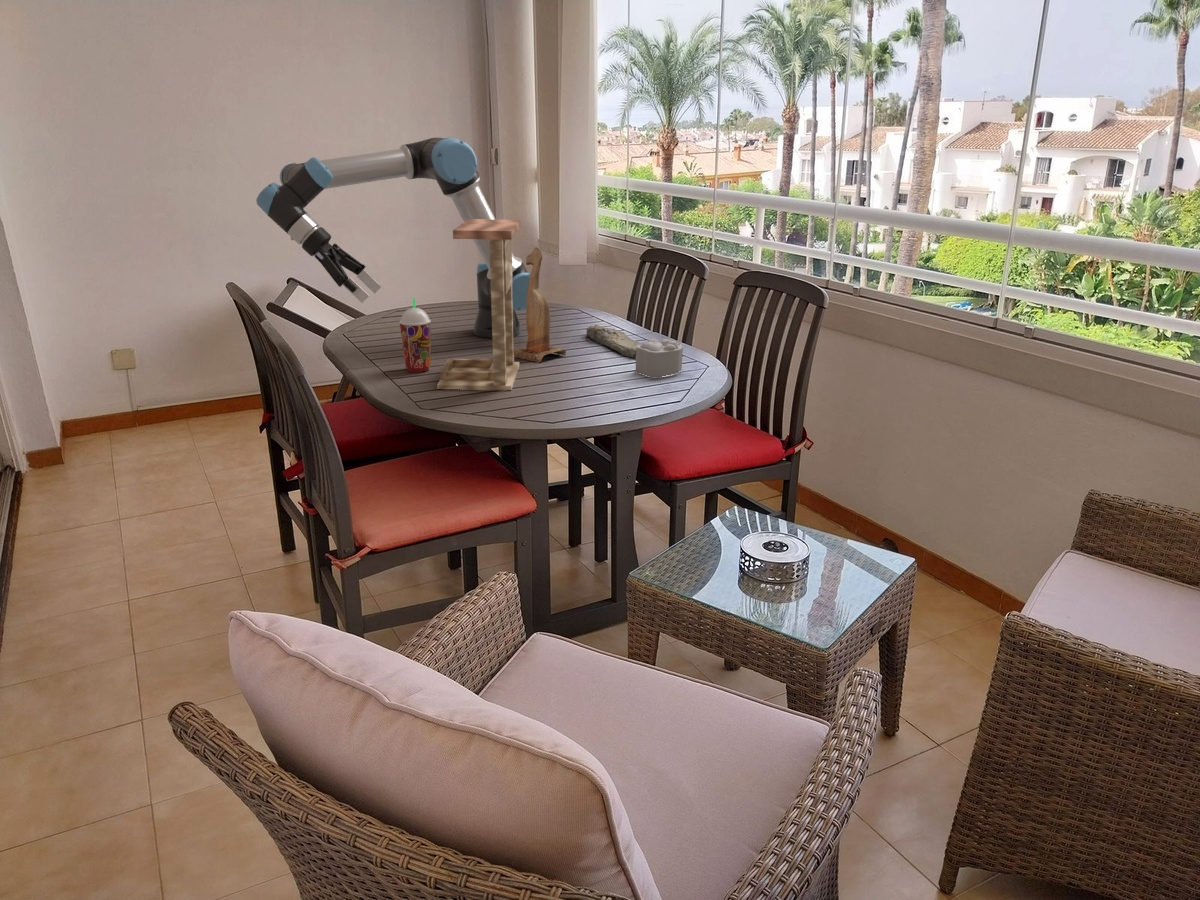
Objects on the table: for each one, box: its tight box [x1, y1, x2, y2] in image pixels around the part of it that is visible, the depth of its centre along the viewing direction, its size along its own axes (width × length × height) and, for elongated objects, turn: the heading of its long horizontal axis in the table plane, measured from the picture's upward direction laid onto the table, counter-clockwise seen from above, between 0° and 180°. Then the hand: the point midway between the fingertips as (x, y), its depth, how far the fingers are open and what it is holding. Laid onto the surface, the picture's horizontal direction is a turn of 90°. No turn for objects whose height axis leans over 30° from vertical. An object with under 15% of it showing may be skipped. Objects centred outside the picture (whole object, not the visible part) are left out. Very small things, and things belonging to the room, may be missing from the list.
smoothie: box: [398, 297, 432, 373], centre depth 236 cm, size 8×8×20 cm
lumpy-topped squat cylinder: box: [635, 338, 684, 377], centre depth 240 cm, size 10×13×9 cm
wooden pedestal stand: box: [436, 218, 522, 391], centre depth 226 cm, size 20×26×40 cm
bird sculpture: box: [514, 246, 567, 363], centre depth 249 cm, size 11×12×32 cm
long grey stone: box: [586, 324, 642, 359], centre depth 268 cm, size 35×5×10 cm
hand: (372, 294), depth 232 cm, fingers open, 13 cm apart
